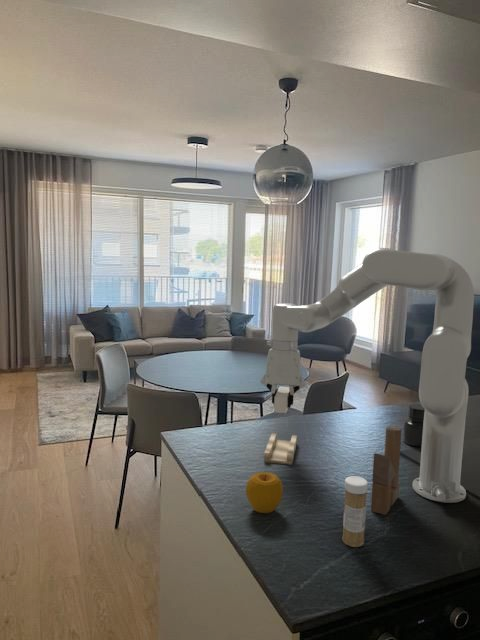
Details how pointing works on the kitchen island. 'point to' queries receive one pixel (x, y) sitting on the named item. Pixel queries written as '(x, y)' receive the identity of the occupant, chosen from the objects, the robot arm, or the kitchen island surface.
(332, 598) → the kitchen island surface
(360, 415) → the kitchen island surface
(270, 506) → the apple
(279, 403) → the strip
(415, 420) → the ink bottle
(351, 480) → the sprinkles bottle
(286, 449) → the rack
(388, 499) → the stepped wooden upright
